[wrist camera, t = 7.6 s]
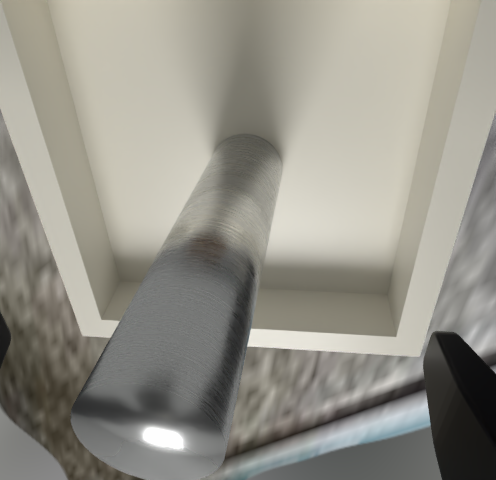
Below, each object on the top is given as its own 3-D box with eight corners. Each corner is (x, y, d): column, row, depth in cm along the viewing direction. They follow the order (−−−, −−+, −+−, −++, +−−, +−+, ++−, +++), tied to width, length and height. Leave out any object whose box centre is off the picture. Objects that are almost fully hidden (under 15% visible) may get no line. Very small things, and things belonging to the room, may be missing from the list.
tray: (499, -74, 11) (551, -69, 9) (405, 299, 19) (419, 356, 17) (11, -61, 13) (-59, -54, 10) (108, 284, 20) (82, 335, 18)
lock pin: (283, 135, 14) (221, 394, 6) (281, 201, 16) (228, 491, 7) (209, 132, 15) (53, 376, 6) (214, 198, 16) (89, 472, 8)
